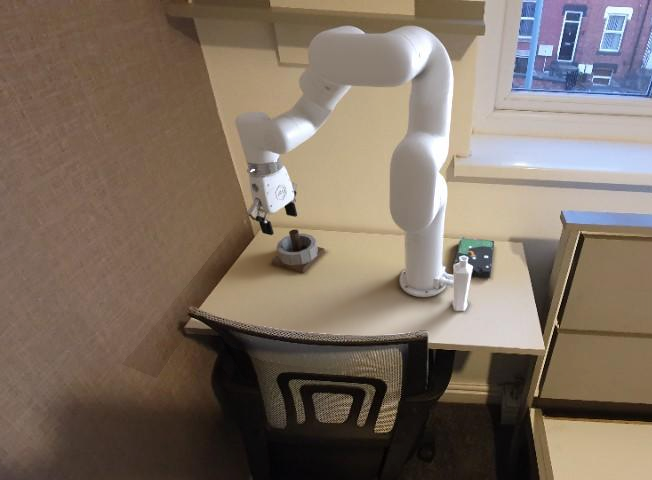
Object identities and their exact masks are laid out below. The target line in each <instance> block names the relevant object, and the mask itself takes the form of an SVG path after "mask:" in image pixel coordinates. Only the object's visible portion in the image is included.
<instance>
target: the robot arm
mask: <svg viewBox="0 0 652 480" xmlns="http://www.w3.org/2000/svg"><path fill="white" fill-rule="evenodd" d="M307 60H308V65H307V67H306V68H305V69H304V71H303V72H302V74H301V75H300V77H299V80H298V84H299V88H300V90H301V92H302V95H301V96H300V97H299V99H298V100H297V101H296V103H295V104H294V105H293V106H292V107H291V108H290V109H289V110H287V111H285V112H283V113H281V114H279V115H277V116H274V117H272V118H271V117H270V115H268V113H266V112H263V111H258V110H257V111H247V112H243V113H240V114H238V115H237V116H236V117H235V121H234V122H235V126H236V127H235V128H236V130H237V133H238V136H239V140H240V144H241V147H242V148H241V149H242V151H243V154H244V158H245V162H246V165H247V169H246V173H247V174H248V178H249V189H250V193H251V198H252V202H253V203H251V206H250V207H249V209H248V210H247V216H248V217H250V219H251V220H253V221H255V222H258V223H259V227H260V230H261V233H262V234H264V235H269V236H273V235H274V234H275V233H274V229H273V226H272V222H271V221H270V220H269V219H270V216H271V215H273V214H275V213H277V212H278V211H280V210H281V209H283V208H284V210H285V214H286V216H289V217H294V218H296V217H298V211H297V208H296V202H297V198H296V196H297V187H298V186H297V185H298V183H297V182H292V181H291V177H290V176H289V173H288V171H287V168H286V167H285V165H284V164H283V163H282V160H281V156H280V155H285V154H288V153H290V152H291V151H293V150H294V149H296V148H297V147H299V146H300V145H301V144H304V142H306V141H308V140H310V139H311V138H312V137H313V136H314V135H315V134H317V131H319V129H320V128H321V127H322V126H323V125H324V124H325V123H326V121H327V120H328V119H329V117H330V116H331V114H332V113H333V111H334V110H335V107H336V105H338V103H339V102H340V101H341V99H343V97H344V96H345V95H346V94H347V92H348V91H349V90H350V89H351V88H352V87H366V88H367V87H368V88H370V87H371V88H397V87H400V86H403V85H405V84H407V83H409V82H411V89H410V95H409V101H408V122H407V123H408V124H407V131H406V133H405V135H404V137H403V138H402V140H401V141H400V142H398V144H397V145H396V147H395V149H394V150H393V151H392V155H391V157H390V162H389V163H390V164H389V212H390V216H391V219H392V220H393V222H394V224H395V225H396V226H397V227H398V228H399V229H400V230H402V231H403V232H404V233H403V234H404V235H403V236H404V270H403V271H402V272H401V273H400V274H399V285H400V287H401V289H402V290H403V291H404V292H405V293H407V294H408V295H411V296H414V297H418V298H429V297H433V296H436V295H438V294H440V293H442V292H443V291H444V290H445V289H446V287H447V288H450V289H454V278H453V274H451V273H450V274H449V273H447V271H446V266H445V265H443V252H444V251H443V250H444V231H445V218H446V210H447V209H446V208H447V201H448V186H447V182H446V180H445V178H444V176H443V175H442V174H441V173H440V171H441V169H442V167H443V166H444V164H445V162H446V160H447V157H448V154H449V147H450V146H449V145H450V144H449V143H450V130H451V120H452V107H453V106H452V105H453V94H454V71H453V65H452V61H451V58H450V56H449V53H448V51H447V49H446V47H445V45H444V44H443V43H442V42H441V40H439V39H438V37H436V35H434V34H433V33H432V32H431V31H429V30H427V29H425V28H424V27H421V26H417V25H403V26H401V27H397V28H395V29H393V30H390V31H387V32H385V33H366V32H364V31H363V30H362V29H360V28H358V27H356V26H352V25H342V26H338V27H333V28H330V29H327V30H323V31H320V32H319V33H317V34H316V35H315V36H314V37H313V38H312V39H311V41H310V44H309V46H308V49H307ZM263 213H264V216H263Z"/></svg>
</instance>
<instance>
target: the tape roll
mask: <svg viewBox="0 0 652 480" xmlns="http://www.w3.org/2000/svg"><path fill="white" fill-rule="evenodd" d="M299 236H300V241H301V246H306V247H308V248H307V249H305V250H302V251H300V252H287V251H288V250H289V249H291V248H292V244H291V239H290V235H287V236H284V237H283V238H282V239H280V240H279V241H278V242H277V245H276V251H277V255H279V259H280V260H281V261H282V263H284V264H288V265H292V266H293V265H301V264H302V265H303V264H305V263H308V262H310V261H312V260H313V259H314V258H315V257H316V256H317V252H318V249H317V247H318V244H317V240H316V238H315V237H314V236H313V235H311V234H308V233H304V232H303V233H299Z"/></svg>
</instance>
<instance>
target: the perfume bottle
mask: <svg viewBox="0 0 652 480" xmlns="http://www.w3.org/2000/svg"><path fill="white" fill-rule="evenodd" d="M459 259H460V260H459V263H457V264H453V265H452V269H453V270H452V271H453V273H452V275H453V278H454V280H453V281H454V288H453V301H452V303H451V305H452V307H453V310H454V311H457V312H465V311H466V309H467V307H468V302H467V300H468V296H469V289H470V284H471V278H472V276H471V274H472V269H473V266H471V265H469V264H468V257H466V256H464V255H463V256H460V257H459Z"/></svg>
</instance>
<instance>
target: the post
mask: <svg viewBox="0 0 652 480" xmlns="http://www.w3.org/2000/svg"><path fill="white" fill-rule="evenodd" d="M288 234H289V235H290V239H291V244H292V248H291V249H289V250H288V251H287V252H300V251H302V250H305V249H307V248H308V247H306V246H301V241H300V236H299V234H300V232H299V230H298V229H291V230H289V232H288ZM289 235H288V236H289ZM317 249H318V252H317V256H316V257H315V258H314V259H313V260H312V261H310V262H308V263H305V264H303V265H302V264H301V265H293V266H292V265H288V264H284V263H282V261H281V260H280V259H279V255H278V254H277V255H276V256H275V257H273V258H272V259H271V262H272V265H274V266H278V267H280V268H284V269H288V270H290V271H291V270H292V271H295V272H298V273H302V274H304V273H306V271H308V270H309V269H310V268H311V267H312V266H313V265H314V264H315V263H316V262H317V261H319V259H320V258H321V257H322V256H324V254H326V249H325V248H324V247H320V246H317Z"/></svg>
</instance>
